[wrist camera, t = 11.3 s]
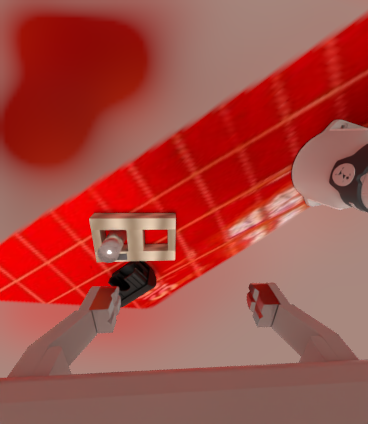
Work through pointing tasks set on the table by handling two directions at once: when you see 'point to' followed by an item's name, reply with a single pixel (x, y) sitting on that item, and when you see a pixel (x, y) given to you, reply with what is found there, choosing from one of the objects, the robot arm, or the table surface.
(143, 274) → the end cap
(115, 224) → the beige rectangular frame
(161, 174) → the table surface
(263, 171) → the table surface
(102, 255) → the metal pin
